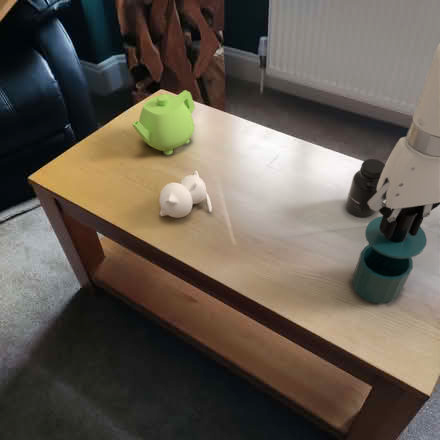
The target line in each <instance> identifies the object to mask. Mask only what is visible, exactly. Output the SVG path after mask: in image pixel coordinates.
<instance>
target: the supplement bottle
mask: <svg viewBox="0 0 440 440" xmlns="http://www.w3.org/2000/svg"><path fill="white" fill-rule="evenodd" d="M385 164H386V163H384V162H383V161H382V160H380V159H377V158H367V159H364V161H363V162H362V163H361V165H360V166H361V167H360V169H359V170H358V171H356V172H355V173H354V175H353V176H352V180H351V184H350V187H349V191H348V195H347V198H346V202H345V210H346V211H347V212H348V214H349V215H351V216H353V217H355V218H360V219H367V218H371V217H373V216H374V215H375V214H376V212H377V211H374V210H372V209H370V207H369V205H368V201H369V200H370V199H371V198H372V197H373V196H374V195H375V194H376V193H377V185H378V182H379V179H380V176H381V174H382V171H383V169H384V167H385Z"/></svg>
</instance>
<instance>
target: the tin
mask: <svg viewBox="0 0 440 440" xmlns="http://www.w3.org/2000/svg"><path fill="white" fill-rule="evenodd" d="M413 268H414V264H413V257H411V258H406V259H397V258H391V257H388V256H385V255H383V254H381V253H379V252H377V251H376V250H374V249H373V248H372V247H371V246H370V245H369V244H367V245H366V246H364V247H363V249H362V250H361V252H360V254H359V258H358V260H357V263H356V266H355V269H354V272H353V275H352V282H351V283H352V288H353V289H354V291H355V293H356V294H357V295H358V296H359V297H360V298H361V299H363V300H365V301H366V302H369V303H373V304H380V305H382V304H388V303H391V302H393V301H395V300H396V299H397V298H398V297H399V296H400V294H401V292H402V290H403V288H404V287H405V285H406V283H407V280H408V279H409V276H410V274H411V272H412V270H413Z"/></svg>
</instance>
